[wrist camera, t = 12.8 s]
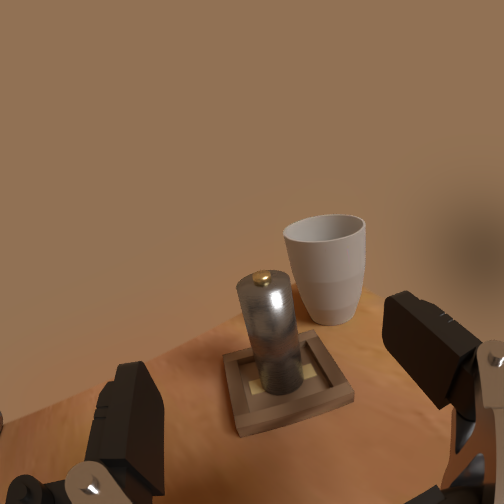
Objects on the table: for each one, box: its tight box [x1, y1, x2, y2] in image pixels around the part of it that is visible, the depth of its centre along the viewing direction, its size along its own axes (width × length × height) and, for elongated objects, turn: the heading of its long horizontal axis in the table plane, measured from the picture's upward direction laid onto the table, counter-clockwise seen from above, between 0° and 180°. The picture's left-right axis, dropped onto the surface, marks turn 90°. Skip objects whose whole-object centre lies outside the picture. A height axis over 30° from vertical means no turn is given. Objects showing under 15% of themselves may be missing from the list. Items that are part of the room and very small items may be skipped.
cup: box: [283, 214, 366, 326], centre depth 30 cm, size 8×8×10 cm
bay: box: [223, 329, 354, 437], centre depth 23 cm, size 9×9×1 cm
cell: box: [236, 270, 304, 395], centre depth 21 cm, size 4×4×10 cm
